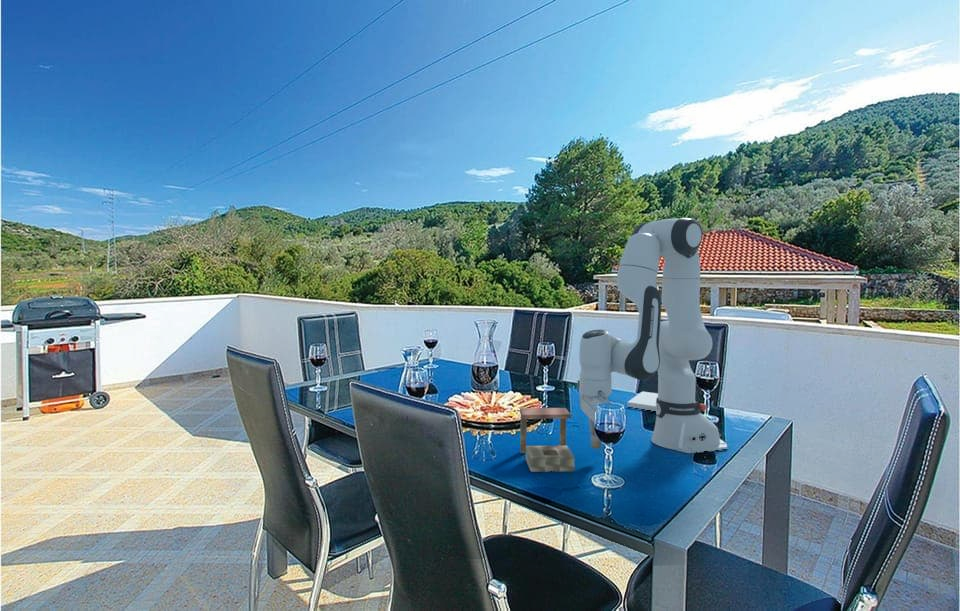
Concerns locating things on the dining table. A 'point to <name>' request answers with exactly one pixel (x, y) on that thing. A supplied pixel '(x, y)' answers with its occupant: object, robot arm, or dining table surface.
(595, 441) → the peg
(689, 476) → the dining table surface
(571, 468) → the socket block
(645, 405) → the food packaging
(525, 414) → the brown wooden arch
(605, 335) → the robot arm
